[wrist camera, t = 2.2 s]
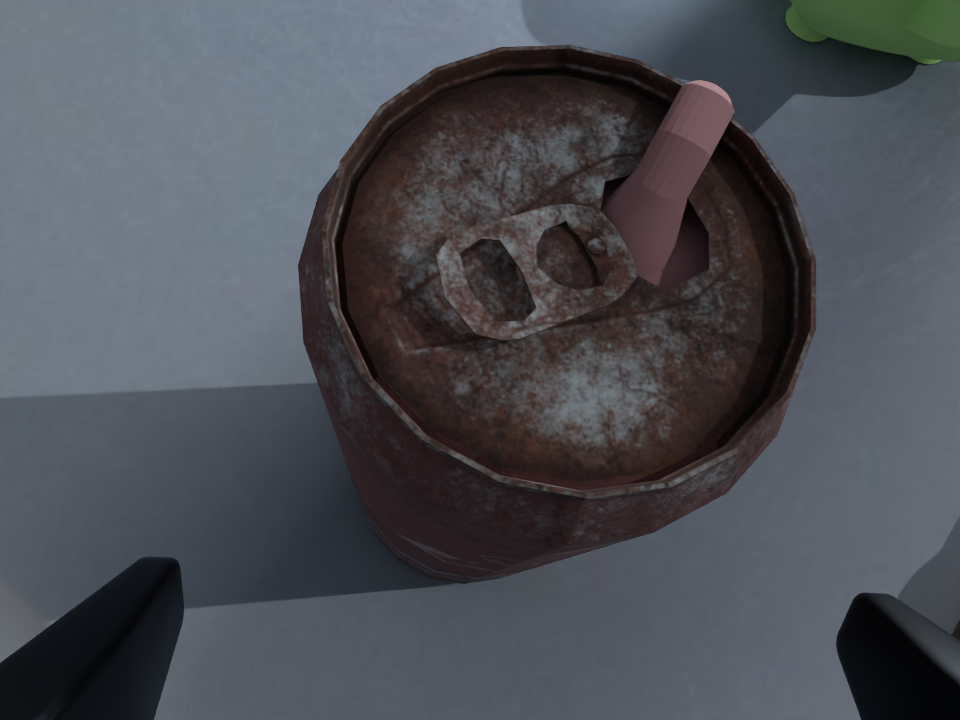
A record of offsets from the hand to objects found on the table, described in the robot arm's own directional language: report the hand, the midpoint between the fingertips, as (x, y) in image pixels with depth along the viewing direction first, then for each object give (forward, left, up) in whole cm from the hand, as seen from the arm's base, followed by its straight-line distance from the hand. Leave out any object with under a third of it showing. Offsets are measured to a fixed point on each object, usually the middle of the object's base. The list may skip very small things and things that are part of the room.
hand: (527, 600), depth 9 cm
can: (+4, +1, -11) cm, 12 cm away
